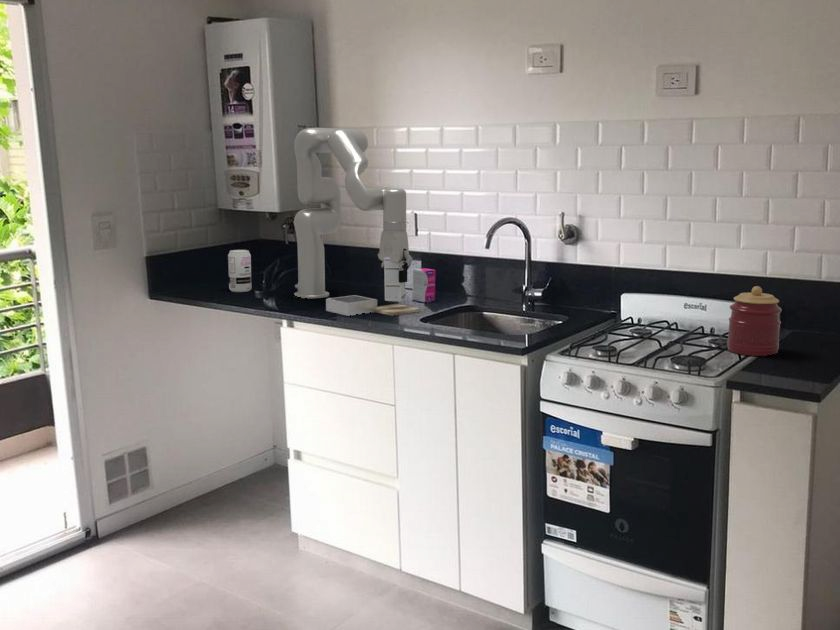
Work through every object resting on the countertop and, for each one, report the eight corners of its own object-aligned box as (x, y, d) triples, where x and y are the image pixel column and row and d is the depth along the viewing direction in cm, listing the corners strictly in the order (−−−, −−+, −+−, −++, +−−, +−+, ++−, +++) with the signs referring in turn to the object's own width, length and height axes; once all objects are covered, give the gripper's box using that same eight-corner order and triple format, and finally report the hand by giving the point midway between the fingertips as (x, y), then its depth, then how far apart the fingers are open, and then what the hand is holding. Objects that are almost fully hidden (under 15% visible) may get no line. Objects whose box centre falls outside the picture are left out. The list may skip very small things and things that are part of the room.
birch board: (369, 310, 293) (369, 307, 293) (397, 306, 301) (397, 303, 301) (392, 315, 285) (392, 312, 284) (420, 311, 292) (420, 308, 292)
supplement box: (423, 303, 308) (423, 270, 306) (412, 301, 312) (412, 269, 310) (435, 301, 312) (435, 269, 309) (424, 299, 316) (424, 267, 314)
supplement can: (233, 288, 338) (232, 249, 335) (254, 289, 337) (253, 249, 334) (226, 292, 330) (224, 251, 327) (247, 292, 329) (246, 252, 326)
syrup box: (401, 301, 289) (401, 257, 286) (383, 300, 290) (384, 256, 287) (405, 298, 294) (405, 255, 292) (388, 298, 296) (388, 254, 293)
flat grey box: (313, 307, 298) (313, 296, 298) (342, 303, 306) (342, 292, 305) (348, 315, 284) (347, 303, 283) (377, 311, 292) (377, 299, 291)
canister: (788, 353, 236) (794, 287, 232) (759, 359, 228) (764, 291, 225) (745, 344, 246) (750, 281, 243) (716, 350, 239) (720, 285, 235)
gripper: (368, 225, 292) (369, 279, 295) (403, 229, 279) (403, 285, 282) (386, 224, 297) (386, 277, 300) (421, 228, 284) (420, 282, 287)
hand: (394, 280), depth 291 cm, fingers closed on syrup box, 7 cm apart
